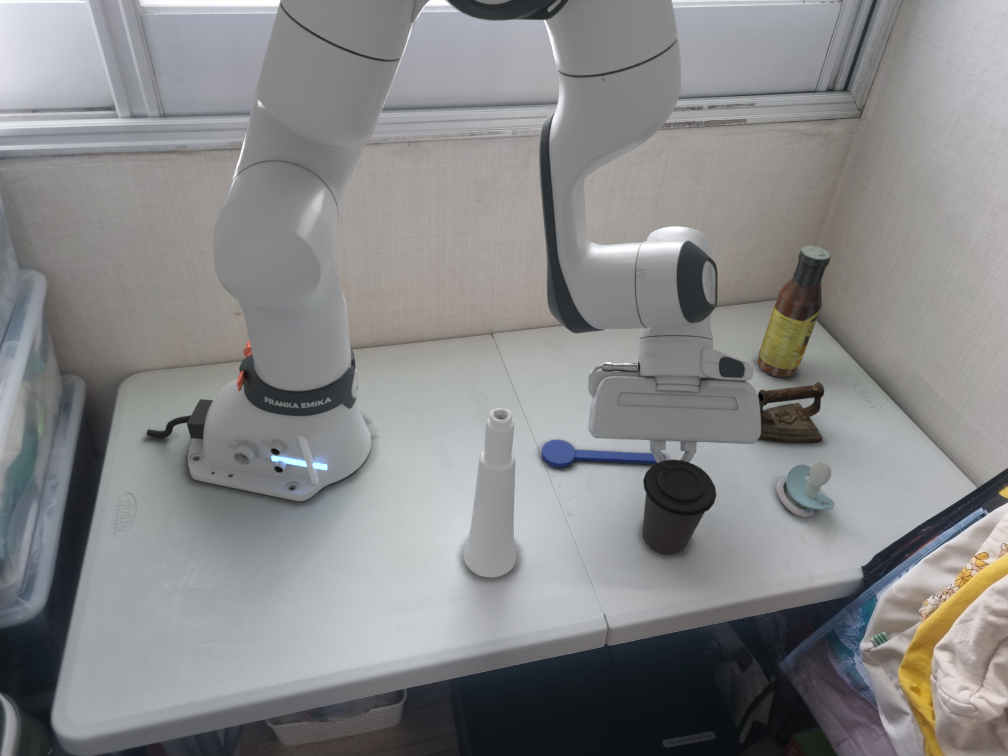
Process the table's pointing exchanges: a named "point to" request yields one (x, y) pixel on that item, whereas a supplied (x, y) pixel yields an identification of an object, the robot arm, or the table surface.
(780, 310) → the sauce bottle
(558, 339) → the table surface
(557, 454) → the spoon
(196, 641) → the table surface
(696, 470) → the coffee cup
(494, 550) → the cosmetic bottle
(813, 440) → the clothes iron
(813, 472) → the pacifier
